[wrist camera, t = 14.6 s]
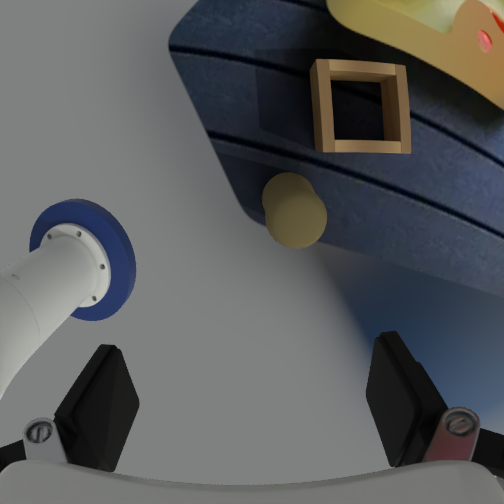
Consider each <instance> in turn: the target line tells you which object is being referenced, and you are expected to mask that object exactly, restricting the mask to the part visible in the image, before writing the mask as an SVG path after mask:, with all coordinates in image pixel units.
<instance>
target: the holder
mask: <svg viewBox="0 0 504 504" xmlns="http://www.w3.org/2000/svg"><path fill="white" fill-rule="evenodd" d="M309 71H310V82H311V94H312V107H313V122H314V138H315V151H319V152H379V153H407V154H411V131H410V112H409V99H408V88H407V78H406V69H405V66H404V65H396V64H388V63H378V62H367V61H354V60H334V59H316V60H315V62H314V64H313V65H312V67H311V69H310V70H309ZM330 80H347V81H365V82H379V83H380V86H381V98H382V111H383V128H384V141H377V140H334V123H333V108H332V95H331V83H330Z"/></svg>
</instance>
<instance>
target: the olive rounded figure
mask: <svg viewBox="0 0 504 504" xmlns="http://www.w3.org/2000/svg"><path fill="white" fill-rule="evenodd" d="M262 205H263V207H264V210H265V212H266V213H265V218H266V226H267V229H268V231H269V233H270V235H271V236H272V237H273V238H274V239H275V241H277V242H279V243H280V244H282V245H284V246H286V247H290V248H304V247H306V246H309V245H311V244H313V243H314V242H315V241H317V240H318V239H319V238H320V236H321V235H322V233H323V232H324V229H325V226H326V223H327V212H326V209H325V206H324V203H323V202H322V201H321V199H320V198H319V197H318V195H316V194H315V193H314V190H313V187H312V185H311V184H310V183H309V181H308V180H307V179H306V178H304V177H303V176H301V175H300V174H296V173H292V172H287V173H281V174H278V175H276V176H274V177H273V178H272V179H270V180H269V181H268V183H267V184H266V186H265V187H264V190H263V193H262Z"/></svg>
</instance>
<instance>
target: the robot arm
mask: <svg viewBox="0 0 504 504" xmlns="http://www.w3.org/2000/svg"><path fill="white" fill-rule="evenodd" d="M110 281H111V268H110V262H109V259H108V256H107V253H106V251H105V250H104V248H103V246H102V244H101V243H100V241H99V240H98V239H97V238H96V237H95V236H94V235H93V234H92V233H91V232H90V231H89V230H87V229H86V228H84V227H82V226H80V225H78V224H74V223H62V224H59V225H57V226H55V227H53V228H51V229H50V230H49V231H48V232H47V233H46V234H45V235H44V237H43V239H42V241H41V245H40V247H39V248H37V249H36V250H34V251H32V252H30V253H29V254H27V255H25V256H24V257H22V258H20V259H19V260H17V261H15V262H14V263H12V264H10V265H9V266H7V267H5V268H4V269H3V270H1V271H0V400H1V398H2V396H3V394H4V392H5V390H6V388H7V387H8V385H9V383H10V382H11V380H12V379H13V377H14V376H15V375H16V373H17V372H18V370H19V369H20V368H21V367H22V366H23V365H24V363H25V362H26V361H27V360H28V359H29V358H30V357H31V355H32V354H33V353H34V352H35V351H36V350H37V349H38V348H39V347H40V346H41V345H42V344H43V342H45V341H46V339H47V338H48V337H49V336H50V335H51V334H52V333H53V332H54V331H55V330H56V329H57V328H58V327H59V326H60V325H61V324H62V323H63V322H64V321H65V319H67V318H68V316H70V315H71V314H72V313H73V312H74V311H75V310H76V308H77V307H89V306H92V305H95V304H96V303H98V302H99V301H100V300H101V299H102V298H103V297H104V296H105V294H106V293H107V291H108V288H109V286H110ZM366 399H367V402H368V405H369V407H370V410H371V413H372V416H373V418H374V421H375V424H376V426H377V429H378V432H379V435H380V438H381V441H382V444H383V447H384V450H385V453H386V456H387V458H388V462H389V464H390V466H391V467H394V466H395V468H392V469H387V470H383V471H378V472H373V473H367V474H361V475H356V476H349V477H343V478H336V479H329V480H322V481H313V482H303V483H290V484H274V485H208V484H192V483H180V482H170V481H160V480H153V479H146V478H139V477H133V476H127V475H122V474H116V473H111V472H114V470H115V468H116V466H117V463H118V460H119V458H120V455H121V452H122V450H123V447H124V445H125V442H126V439H127V437H128V434H129V431H130V429H131V426H132V424H133V421H134V419H135V416H136V414H137V411H138V408H139V398H138V396H137V393H136V391H135V388H134V385H133V383H132V380H131V377H130V375H129V372H128V369H127V367H126V363H125V361H124V358H123V355H122V352H121V350H120V349H117V347H116V346H115V345H106V344H101V345H100V346H99V347H98V349H97V350H96V352H95V353H94V354H93V356H92V357H91V359H90V360H89V362H88V363H87V365H86V366H85V368H84V369H83V371H82V372H81V374H80V375H79V376H78V378H77V380H76V381H75V383H74V384H73V386H72V387H71V389H70V390H69V392H68V393H67V395H66V396H65V398H64V400H63V401H62V403H61V404H60V406H59V407H58V409H57V411H56V412H55V414H54V415H55V418H54V420H53V421H52V420H51V419H48V418H37V419H34V420H32V421H31V422H29V423H28V424H27V425H26V427H25V428H24V430H23V439H22V440H20V441H17V442H15V443H12V444H9V445H7V446H4V447H1V448H0V504H504V435H502V434H498V433H495V432H492V431H489V430H485V429H482V428H480V420H479V418H478V416H477V415H476V413H474V412H473V411H472V410H470V409H467V408H465V407H453V408H451V409H449V408H448V407H447V405H446V404H445V402H444V400H443V398H442V397H441V395H440V394H439V392H438V390H437V389H436V387H435V385H434V384H433V382H432V381H431V379H430V377H429V376H428V374H427V372H426V371H425V370H424V368H423V366H422V365H421V364H420V363H419V362H416V361H415V359H414V358H413V356H412V355H411V353H410V351H409V350H408V348H407V347H406V345H405V344H404V342H403V341H402V339H401V337H400V336H399V334H398V333H397V332H396V331H390V332H382V333H380V335H379V337H376V338H375V341H374V348H373V354H372V361H371V366H370V372H369V377H368V383H367V388H366Z"/></svg>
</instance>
